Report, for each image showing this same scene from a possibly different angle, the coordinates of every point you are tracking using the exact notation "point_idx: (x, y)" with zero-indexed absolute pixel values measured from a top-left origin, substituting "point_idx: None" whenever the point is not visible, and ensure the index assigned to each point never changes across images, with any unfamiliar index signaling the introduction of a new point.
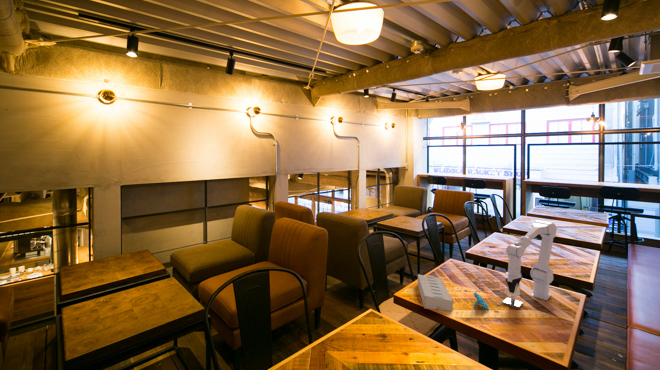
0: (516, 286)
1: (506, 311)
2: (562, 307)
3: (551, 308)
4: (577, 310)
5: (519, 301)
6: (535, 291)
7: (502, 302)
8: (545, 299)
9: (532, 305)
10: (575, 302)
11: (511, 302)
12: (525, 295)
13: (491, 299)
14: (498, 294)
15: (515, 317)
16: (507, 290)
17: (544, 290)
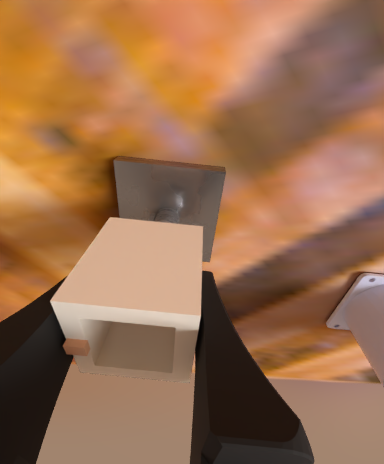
0: (95, 365)
1: (29, 201)
2: (277, 354)
3: (241, 333)
4: (276, 377)
5: (206, 246)
6: (379, 316)
7: (115, 159)
8: (327, 323)
9: (223, 286)
10: (354, 376)
11: (151, 213)
12: (359, 249)
13: (121, 50)
14: (287, 79)
15: (12, 246)
16: (93, 245)
17: (370, 364)
